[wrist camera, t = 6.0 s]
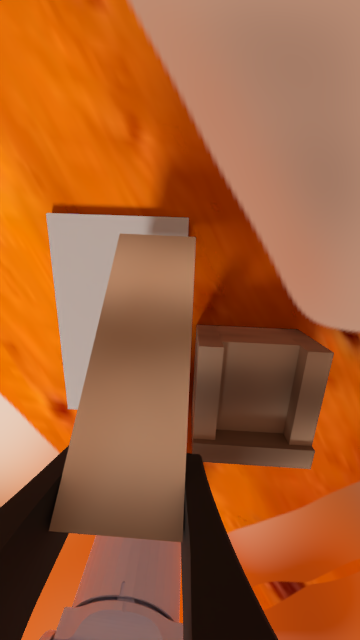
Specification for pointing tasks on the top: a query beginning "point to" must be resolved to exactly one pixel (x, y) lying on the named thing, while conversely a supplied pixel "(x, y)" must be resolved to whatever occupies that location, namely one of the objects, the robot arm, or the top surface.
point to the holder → (257, 395)
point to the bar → (134, 399)
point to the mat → (90, 278)
